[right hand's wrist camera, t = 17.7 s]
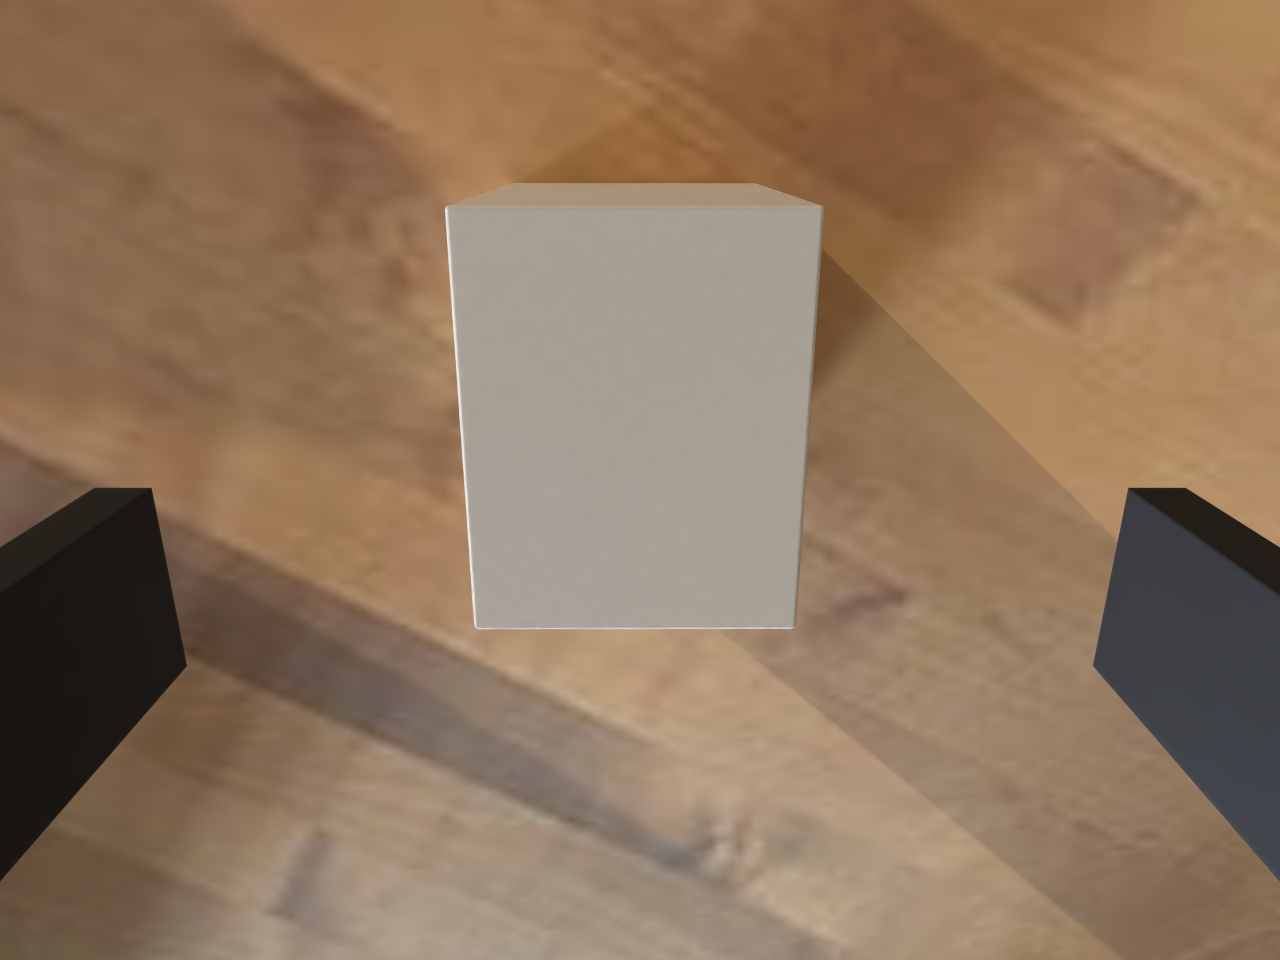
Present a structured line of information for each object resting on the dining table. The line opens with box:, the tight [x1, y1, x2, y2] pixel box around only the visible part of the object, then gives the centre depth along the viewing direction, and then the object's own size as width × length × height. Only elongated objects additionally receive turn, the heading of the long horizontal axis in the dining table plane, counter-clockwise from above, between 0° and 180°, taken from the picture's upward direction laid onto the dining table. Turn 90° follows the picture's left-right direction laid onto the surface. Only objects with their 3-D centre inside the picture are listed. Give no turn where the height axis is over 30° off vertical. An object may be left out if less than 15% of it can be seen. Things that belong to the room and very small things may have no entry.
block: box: [445, 183, 824, 629], centre depth 23 cm, size 7×9×10 cm
